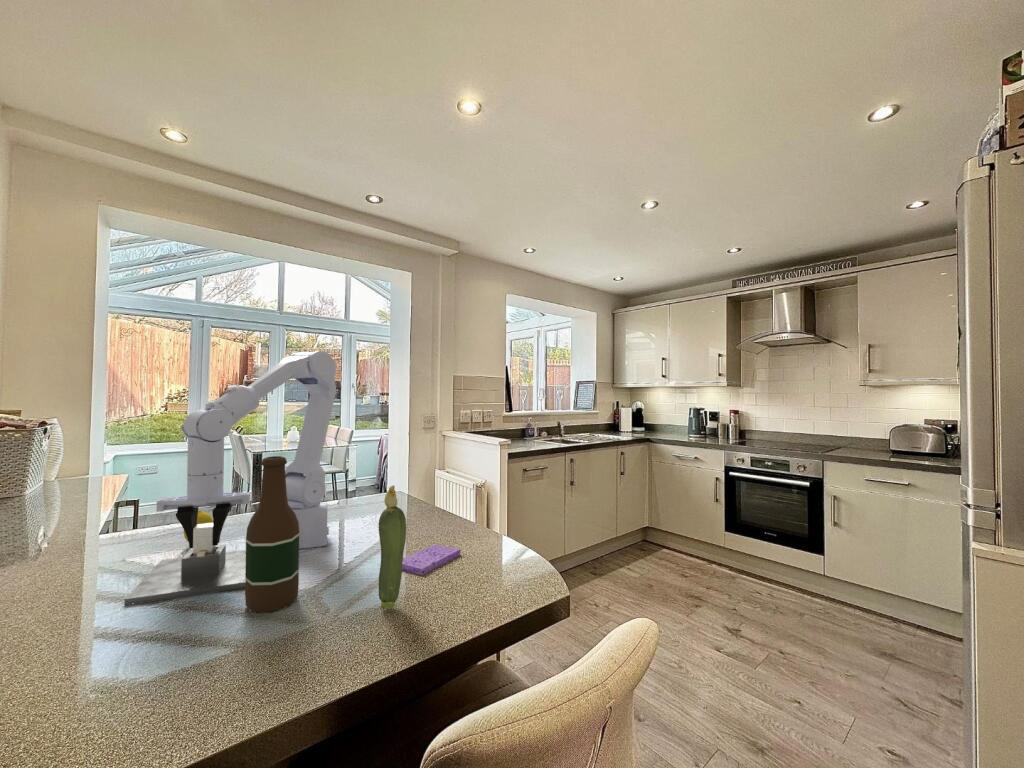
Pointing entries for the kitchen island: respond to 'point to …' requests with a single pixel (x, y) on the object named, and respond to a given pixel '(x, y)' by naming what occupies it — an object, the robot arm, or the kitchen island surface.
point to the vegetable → (391, 550)
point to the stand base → (192, 576)
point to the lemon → (202, 519)
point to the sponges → (429, 559)
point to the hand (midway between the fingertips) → (204, 545)
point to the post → (203, 539)
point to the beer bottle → (272, 545)
